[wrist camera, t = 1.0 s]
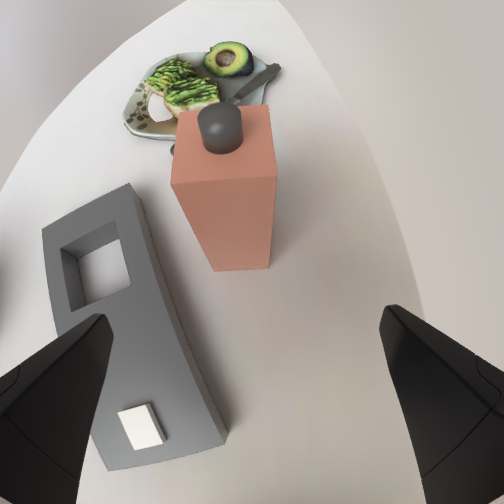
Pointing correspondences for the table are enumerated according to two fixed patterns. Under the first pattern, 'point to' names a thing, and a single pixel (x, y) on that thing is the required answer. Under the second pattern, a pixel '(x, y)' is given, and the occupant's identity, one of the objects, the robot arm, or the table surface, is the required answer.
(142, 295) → the grey slotted holder
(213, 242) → the pink capped bottle
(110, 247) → the table surface
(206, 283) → the table surface
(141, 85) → the salad plate
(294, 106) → the table surface
